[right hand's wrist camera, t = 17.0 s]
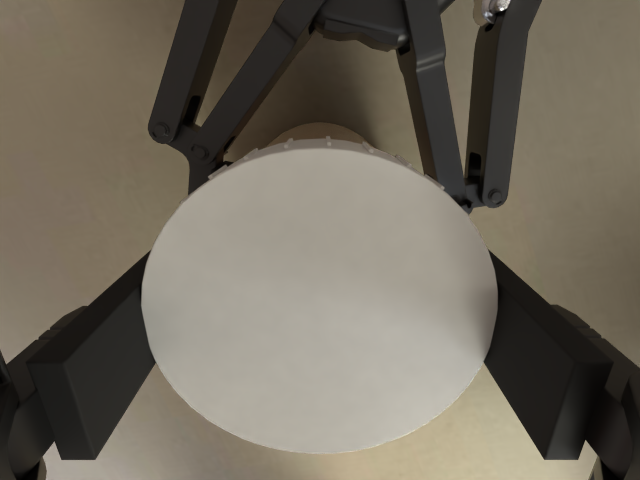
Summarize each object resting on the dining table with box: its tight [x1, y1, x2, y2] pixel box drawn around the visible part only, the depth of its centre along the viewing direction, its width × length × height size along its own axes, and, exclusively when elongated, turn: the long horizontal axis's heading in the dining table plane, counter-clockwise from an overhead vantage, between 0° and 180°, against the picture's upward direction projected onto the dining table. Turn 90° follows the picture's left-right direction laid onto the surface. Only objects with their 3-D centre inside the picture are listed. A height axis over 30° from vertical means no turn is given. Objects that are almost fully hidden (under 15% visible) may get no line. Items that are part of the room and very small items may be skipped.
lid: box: [141, 136, 498, 454], centre depth 11 cm, size 10×10×2 cm
